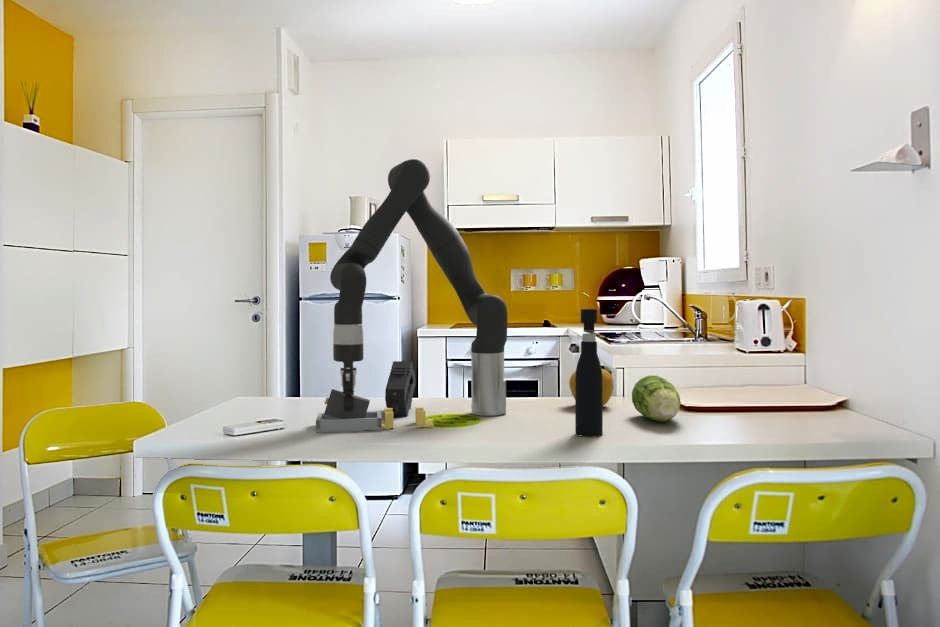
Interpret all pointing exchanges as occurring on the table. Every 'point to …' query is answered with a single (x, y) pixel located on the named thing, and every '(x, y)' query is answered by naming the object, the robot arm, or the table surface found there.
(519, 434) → the table surface
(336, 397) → the grey slab
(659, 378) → the lettuce
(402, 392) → the tool
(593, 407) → the wine bottle
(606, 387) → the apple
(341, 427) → the tray
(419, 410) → the blocks
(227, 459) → the table surface
